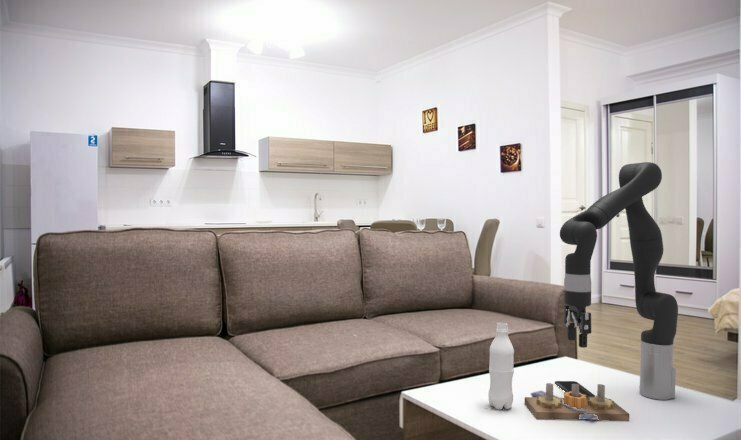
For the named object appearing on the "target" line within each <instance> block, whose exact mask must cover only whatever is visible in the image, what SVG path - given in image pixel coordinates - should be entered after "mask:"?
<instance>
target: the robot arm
mask: <svg viewBox="0 0 741 440" xmlns="http://www.w3.org/2000/svg"><path fill="white" fill-rule="evenodd" d="M662 177H663V174H662V169H661V168H660V166H659V165H658V164H657V163H655V162H650V161H649V162H648V161H644V162H635V163H627V164H624V165H623V166H621V168H620V169H619V172H618V184H619V188H617V189H616V190H614V191H611V192H609V193H607V194H605V195H603V196H602V197H600V198H599V199H598V200H596V201H595V202H593V203H592V204H591V205H590V206H589V207H588V208H587V209H586V210H584V211H582V212H580V213H578V214H576V215H574V216H572V217H570V218H569V219H568V220H566V221H565V222H564V223H563V224H562V226H561V227H560V231H559V237H560V240H561V241H562V242H563V243H565V244H567V245H572V246H575V250H574V252H572V253H571V252H570V253H568V254H567V255H566V256H565V258H564V260H565V262H564V264H565V265H564V278H563V280H564V281H563V304H564V312H563V313H564V314H563V315H564V317H563V318H564V319H563V323H564V324H565V325H566V328H567V336H566V337H567V340H568V341H576V339H577V338H576V336H577V335H576V333H578V347H579V348H584V349H585V348H587V347H588V335H589V334H590V335H591V334H592V313H591V312H587V309H586V308H587V307H591V305H592V276H591V265H592V264H591V262H592V261H591V260H592V257H593V254H594V250H595V248H596V245H597V244H596V243H597V239H598V232H597V230H600V229H603V228H604V227H606V225H607V224H609V223H610V221H612V220H613V219H614V218H616V216H617V215H618V214H620V213H621V212H623V211H624V210H625V215H626V221H627V225H628V235H629V236H628V237H629V243H630V244H629V245H630V249H631V255H632V263H633V264H632V265H633V272H634V273H633V275H634V291H635V292H634V298H635V301H634V302H635V307H636V311H637V314H638V315H639V316H640V317H642V318H643V319H647V320H650V321H653V325H652V328H651V329H647V330H643V331H641V333H640V356H639V357H640V362H639V363H640V364H639V365H640V366H639V367H640V368H639V394H640V395H642V396H643V397H646V398H649V399H653V400H659V401H660V400H661V401H662V400H663V401H666V400H671V399H675V398H676V377H677V376H676V372H677V371H676V370H677V369H676V368H675V367H674V339H675V337H676V334H677V328H678V316H679V307H678V302H677V299H676V297H675V296H674V295H672V294H669V293H665V292H660V291H657V290H656V286H655V285H656V284H655V274H656V271H657V269H658V267H659V265H660V262H661V260H662V258H663V255H664V242H663V241H664V240H663V234H662V230H661V229H660V227H659V224H657V222H656V221H655V219H654V218H653V216H652V215H651V213H649V211H648V210H647V208H646V207H645V204H644V200H643V198H644V196H646V195H648V194H649V193H651V192H653V191H655V190H656V189H657V188H658V187H659V186H660V184H661V182H662V179H663V178H662ZM576 328H577V329H576ZM576 330H577V331H578V332H576Z"/></svg>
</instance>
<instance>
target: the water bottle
mask: <svg viewBox="0 0 741 440" xmlns="http://www.w3.org/2000/svg"><path fill="white" fill-rule="evenodd" d="M508 329H509V328H508V323H507V322H501V321H500V322H498V321H497V322H496V330H495V331H496V335H495V336H494V339H493V340H492V342H491V344H490V346H489V367H488V372H489V381H490V383H489V388H488V389H489V390H488V401H489V405H490V406H491V407H492V408H493V407H494V408H495V409H496V410H502V409H503V407H504V409H505V410H509V409H511V407H512V405H513V402H514V394H513V377H514V373H515V369H514V358H515V357H514V355H515V348H514V347H513V344H512V341H511V340H510V337H509V334H508V333H509V330H508Z"/></svg>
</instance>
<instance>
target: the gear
mask: <svg viewBox="0 0 741 440" xmlns="http://www.w3.org/2000/svg"><path fill="white" fill-rule="evenodd" d="M563 398H564V404H567V405H569V406H570V407H576V408H577V409H581V408H586V395H583V394H581V393H579V397H573V396H572V391H570V392H564V393H563Z"/></svg>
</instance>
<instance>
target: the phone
mask: <svg viewBox="0 0 741 440" xmlns="http://www.w3.org/2000/svg"><path fill="white" fill-rule="evenodd" d="M555 384H556V385H557V386H556V385H555ZM572 384H578V385H579V393H581V394H583V395H586V398H588V397H591V398H592V397H594V396H596V395H595V394H593V393H592V392H591V391H590V390H589V389H587V388H586V387H585V386H583V385H582V384H581V383H579V382H578V381H576V380H574V381H573V380H555V381H554V385H555V386H556V387H558V386H559V387H560V388H561V389H562V390H564V391H565V392H570V391H572ZM559 387H558V388H559ZM560 388H559V389H560ZM561 389H560V390H561ZM562 390H561V391H562Z"/></svg>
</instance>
